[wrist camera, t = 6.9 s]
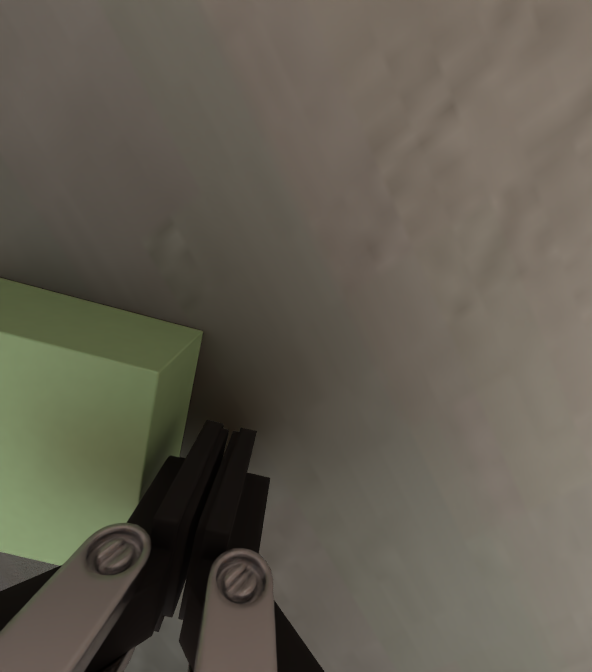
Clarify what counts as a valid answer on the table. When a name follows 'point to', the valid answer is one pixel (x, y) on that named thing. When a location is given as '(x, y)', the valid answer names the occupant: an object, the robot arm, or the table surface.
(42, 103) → the table surface
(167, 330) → the green block
